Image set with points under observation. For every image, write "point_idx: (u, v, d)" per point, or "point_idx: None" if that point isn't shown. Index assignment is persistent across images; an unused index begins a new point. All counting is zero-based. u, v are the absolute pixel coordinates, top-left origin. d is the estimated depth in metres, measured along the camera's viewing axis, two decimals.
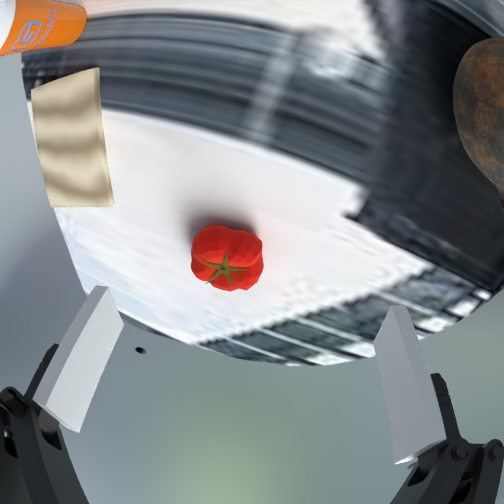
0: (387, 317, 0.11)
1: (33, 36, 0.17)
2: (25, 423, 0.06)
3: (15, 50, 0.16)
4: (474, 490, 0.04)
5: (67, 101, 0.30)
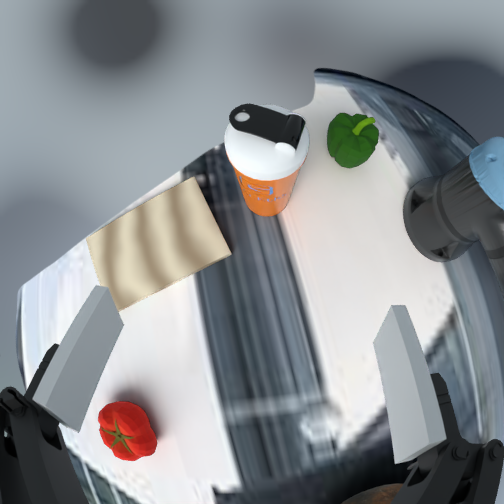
0: (387, 317, 0.11)
1: (255, 192, 0.33)
2: (25, 423, 0.06)
3: (238, 177, 0.32)
4: (474, 490, 0.04)
5: (190, 233, 0.42)
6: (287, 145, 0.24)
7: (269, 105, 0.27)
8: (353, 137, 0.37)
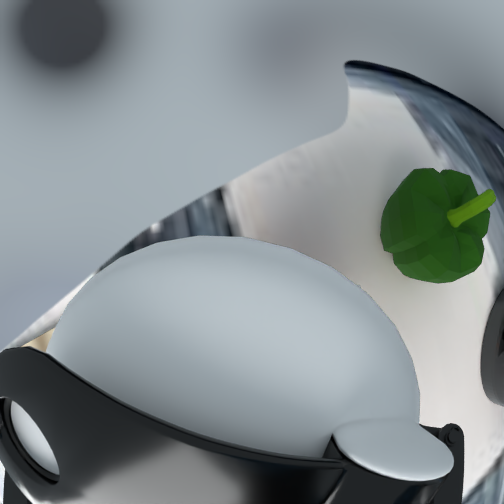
0: None
1: None
2: None
3: None
4: None
5: None
6: None
7: (220, 281, 0.04)
8: (452, 238, 0.14)
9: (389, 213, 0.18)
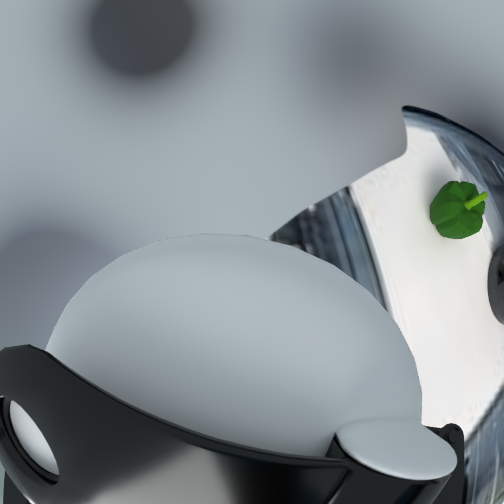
0: None
1: None
2: None
3: None
4: None
5: None
6: None
7: (222, 279, 0.04)
8: (467, 214, 0.29)
9: (437, 203, 0.33)
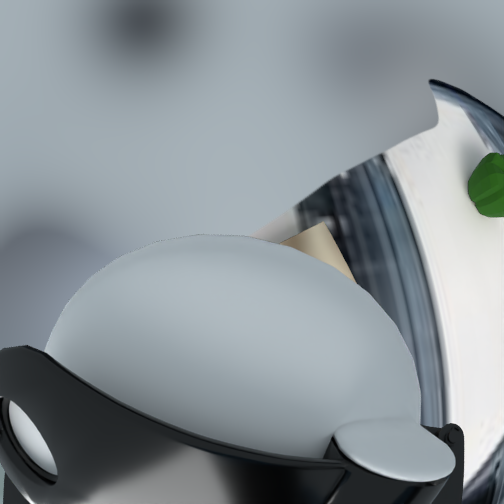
0: None
1: None
2: None
3: None
4: None
5: None
6: None
7: (220, 280, 0.04)
8: None
9: (479, 175, 0.26)
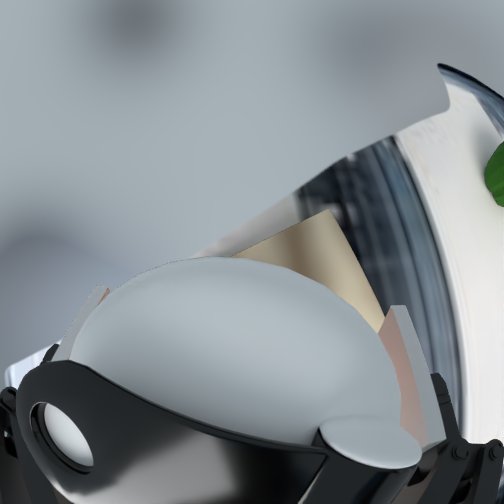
0: (387, 317, 0.11)
1: None
2: None
3: None
4: (474, 490, 0.04)
5: None
6: None
7: (227, 300, 0.05)
8: None
9: (498, 162, 0.21)
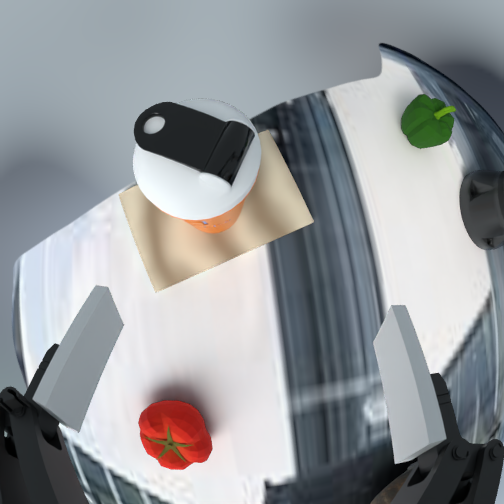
0: (387, 317, 0.11)
1: (185, 220, 0.24)
2: (25, 423, 0.06)
3: None
4: (474, 490, 0.04)
5: (267, 195, 0.35)
6: (216, 179, 0.15)
7: (204, 101, 0.17)
8: (437, 121, 0.31)
9: (408, 111, 0.35)
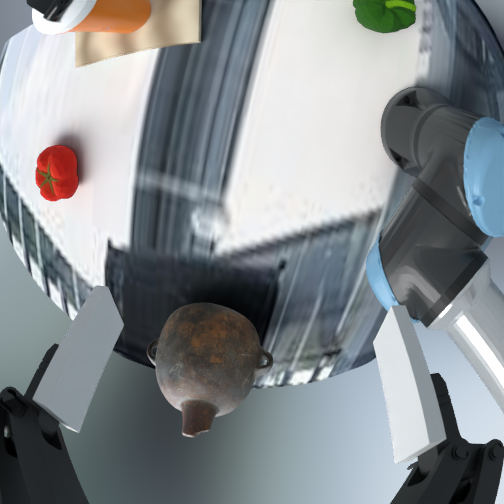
0: (387, 317, 0.11)
1: None
2: (25, 423, 0.06)
3: None
4: (474, 490, 0.04)
5: (171, 13, 0.28)
6: (45, 20, 0.13)
7: None
8: (380, 6, 0.21)
9: None
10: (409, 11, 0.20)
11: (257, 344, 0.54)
